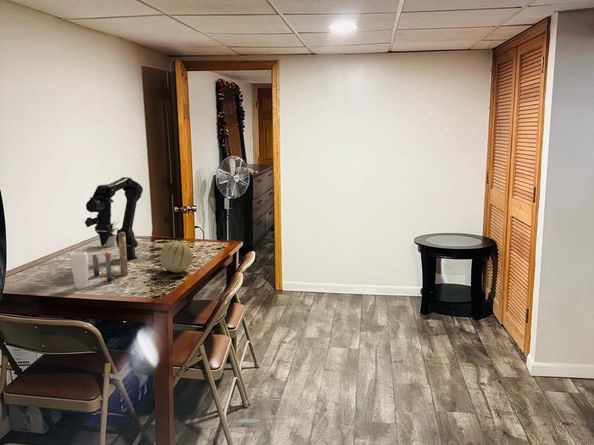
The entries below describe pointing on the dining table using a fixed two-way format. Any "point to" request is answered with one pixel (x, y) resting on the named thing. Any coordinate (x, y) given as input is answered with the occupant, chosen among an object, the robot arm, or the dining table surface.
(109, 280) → the post
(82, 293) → the dining table surface
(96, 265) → the post
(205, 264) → the dining table surface
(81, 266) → the cream white cylinder
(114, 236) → the house plant
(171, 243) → the cantaloupe
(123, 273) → the gate
